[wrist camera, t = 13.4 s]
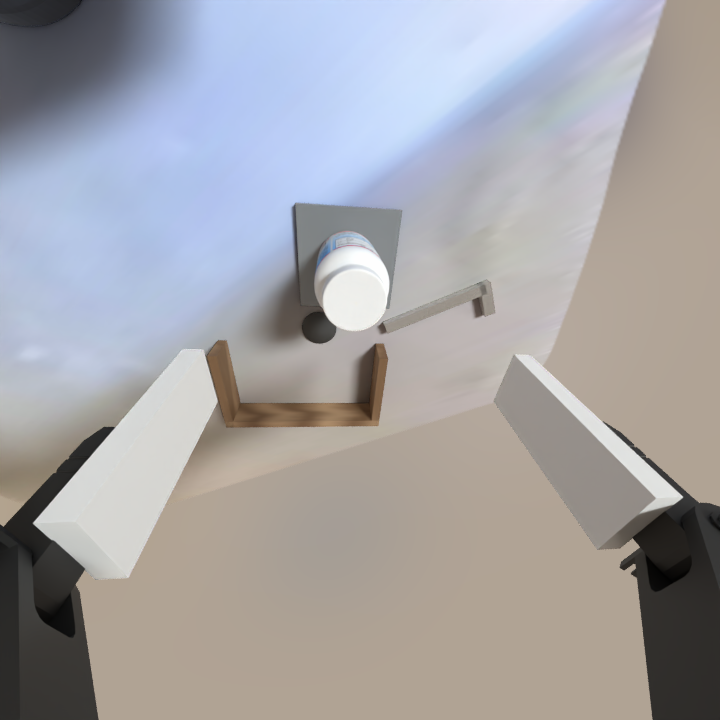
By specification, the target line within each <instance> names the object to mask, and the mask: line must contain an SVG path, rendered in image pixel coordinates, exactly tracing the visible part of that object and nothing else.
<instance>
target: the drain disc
mask: <svg viewBox="0 0 720 720" xmlns="http://www.w3.org/2000/svg"><path fill="white" fill-rule="evenodd" d="M302 330H303V333H304V335H305V337H306V338H307V339H309V340H310V341H312V342H315V343H325V342H328V341H330V340H331V339H332V338H333V337H334V335H335V333H336V326H335V325H334V324H332V323H331V322H330V321H329V319H328V318H327V316H326V315H325V313H320V312H317V313H312V314H310V315H309V316H307V317H306V318H305V320H304V322H303V325H302Z"/></svg>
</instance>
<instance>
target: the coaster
mask: <svg viewBox="0 0 720 720" xmlns="http://www.w3.org/2000/svg"><path fill="white" fill-rule="evenodd" d="M295 206H296V225H297V245H298V264H299V283H300V302H301V306H320V304H319V302H318V300H317V298H316V295H315V289H314V279H315V272H316V266H317V260H318V254H319V251H320V249H321V247H322V245H323V243H324V242H325V241H326V240H327V239H328V238H329V237H330V236H332V235H333V234H335V233H338V232H342V231H353V232H356V233H359V234H361V235H363V236H364V237H365V238H366V239H367V240H368V241H369V242H370V243H371V244H372V246H373V247H374V249H375V250H376V252H377V254H378V255H379V257H380V259H381V260H382V262H383V263H384V265H385V267H386V269H387V272H388V276H389V293H388V297H387V305H386V309H389V307H390V299H391V292H392V284H393V276H394V269H395V261H396V254H397V246H398V239H399V231H400V223H401V216H402V210H396V209H382V208H367V207H353V206H338V205H324V204H309V203H295Z"/></svg>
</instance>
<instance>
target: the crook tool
mask: <svg viewBox="0 0 720 720" xmlns="http://www.w3.org/2000/svg"><path fill="white" fill-rule="evenodd" d="M478 297H479V301H480V307H481V312H482V314H483V315H484V316H485V317H486V316H488V315H491V314H494V313H495V307H494V300H493V293H492V287H491V282H490V281H488V280H484V281H482V282H479V283H477V284H474V285H472V286H469V287H467V288H465V289H462V290H460V291H457V292H455V293H452V294H450V295H447V296H445V297H442V298H440V299H438V300H435V301H433V302H430V303H428V304H425V305H423V306H420V307H418V308H415V309H413V310H410V311H408V312H406V313H403V314H401V315H398V316H396V317H393V318H391V319H388V320H386V321H383V323H384V326H385V328H386V331H387V333H390V332H393V331H395V330H398V329H400V328H403V327H405V326H408V325H410V324H413V323H415V322H418V321H420V320H423V319H425V318H428V317H430V316H433V315H435V314H438V313H440V312H443V311H445V310H448V309H450V308H453V307H455V306H458V305H460V304H463V303H466V302H468V301H471V300H473V299H476V298H478Z"/></svg>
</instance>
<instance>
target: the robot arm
mask: <svg viewBox="0 0 720 720" xmlns="http://www.w3.org/2000/svg"><path fill="white" fill-rule="evenodd" d="M80 2H81V0H0V22H2V23H6V24H10V25H16V26H41V25H46V24H50V23H53V22H55V21H58V20H60V19H62V18H63V17H65V16H66V15H68V14H69V13H70V12H72V11H73V10H74V9H75V8H76V6H77V5H78V4H79V3H80ZM217 402H218V400H217V397H216V393H215V389H214V386H213V382H212V379H211V375H210V372H209V368H208V364H207V361H206V357H205V354H204V350H203V349H182V351H181V352H180V353H179V354H178V355H177V356H176V358H175V359H174V360H173V361H172V362H171V363H170V365H169V366H168V367H167V368H166V369H165V370H164V372H163V373H162V374H161V375H160V376H159V377H158V378H157V380H156V381H155V382H154V383H153V384H152V385H151V387H150V388H149V389H148V390H147V391H146V392H145V394H144V395H143V396H142V397H141V398H140V399H139V401H138V402H137V403H136V404H135V405H134V406H133V408H132V409H131V410H130V411H129V412H128V413H127V415H126V416H125V417H124V418H123V419H122V420H121V421H120V423H119V424H118V425H117V426H116V427H103V428H102V429H100V430H99V431H97V432H96V433H94V434H93V435H92V436H90V437H89V438H87V439H86V440H84V441H83V442H82V443H81V444H80V445H79V446H78V448H77V449H76V450H75V451H74V452H73V453H72V454H71V455H70V456H69V459H68V460H65V461H64V463H63V464H62V465H61V466H60V467H59V468H58V469H57V472H56V473H53V474H52V475H51V476H50V477H49V479H48V480H47V481H46V482H45V483H44V484H43V485H42V486H41V487H40V488H39V489H38V490H37V491H36V492H35V494H34V495H33V496H32V497H31V498H30V499H29V500H28V501H27V502H26V503H25V504H24V505H23V506H22V508H21V509H20V510H19V511H18V512H17V513H16V514H15V515H14V516H13V517H12V518H11V519H10V520H9V521H8V522H7V524H6V525H5V526H4V527H3V526H2V525H0V720H98V713H97V707H96V700H95V693H94V687H93V680H92V673H91V666H90V659H89V653H88V646H87V639H86V632H85V626H84V619H83V613H82V606H81V599H80V592H79V590H78V588H77V587H76V585H75V584H76V583H77V581H78V579H79V578H80V577H81V575H82V573H83V572H84V570H85V571H86V572H88V573H89V574H90V575H91V576H92V577H93V578H94V579H95V580H99V579H114V578H128V577H129V575H130V573H131V571H132V569H133V567H134V565H135V564H136V562H137V560H138V558H139V556H140V554H141V552H142V550H143V548H144V546H145V544H146V542H147V540H148V538H149V536H150V534H151V532H152V530H153V528H154V526H155V524H156V522H157V520H158V518H159V516H160V514H161V512H162V510H163V509H164V506H165V505H166V503H167V501H168V499H169V497H170V495H171V493H172V491H173V489H174V487H175V485H176V483H177V481H178V479H179V477H180V475H181V473H182V471H183V469H184V467H185V465H186V463H187V461H188V459H189V457H190V455H191V453H192V452H193V450H194V448H195V446H196V444H197V442H198V440H199V438H200V436H201V434H202V432H203V430H204V428H205V426H206V424H207V422H208V420H209V418H210V416H211V414H212V412H213V410H214V408H215V406H216V404H217ZM494 403H495V404H496V405H497V407H498V408H499V410H500V411H501V413H502V414H503V416H504V417H505V418H506V420H507V421H508V423H509V424H510V426H511V427H512V428H513V430H514V431H515V433H516V434H517V435H518V437H519V438H520V440H521V441H522V443H523V444H524V445H525V447H526V448H527V450H528V451H529V453H530V454H531V456H532V457H533V459H534V460H535V461H536V463H537V464H538V465H539V467H540V468H541V470H542V471H543V473H544V474H545V476H546V477H547V478H548V480H549V481H550V483H551V484H552V486H553V487H554V489H555V490H556V491H557V493H558V494H559V495H560V497H561V499H562V500H563V501H564V503H565V504H566V506H567V507H568V509H569V510H570V511H571V513H572V514H573V516H574V517H575V518H576V520H577V521H578V523H579V524H580V526H581V527H582V529H583V530H584V531H585V533H586V534H587V536H588V537H589V539H590V540H591V542H592V543H593V544H594V546H595V547H596V549H597V550H600V549H617V548H621V547H622V546H623V545H625V544H626V543H627V542H629V541H630V540H631V539H632V538H633V539H634V540H635V541H636V543H637V544H638V545H639V546H640V548H639V549H637V550H636V551H635V552H633V553H632V554H631V555H630V556H628V557H627V558H626V559H624V560H623V561H622V562H621V564H620V568H621V569H623V570H625V569H627V568H628V567H630V566H631V565H632V564H636V569H635V570H634V571H632V573H631V574H632V575H633V576H635V577H637V582H638V591H639V600H640V609H641V618H642V627H643V637H644V646H645V655H646V664H647V673H648V682H649V691H650V700H651V709H652V717H653V720H720V507H719V506H716V505H713V504H710V503H699V502H697V501H696V500H695V499H694V498H692V497H691V496H690V495H689V494H688V493H687V492H686V491H685V490H684V489H682V488H681V487H680V486H679V485H678V484H677V483H676V482H675V481H674V480H673V479H672V478H670V477H669V476H668V475H667V474H666V473H665V472H664V471H663V470H662V469H660V468H659V467H658V466H657V465H656V464H655V463H654V462H653V461H652V460H650V459H649V458H646V455H645V454H643V452H642V451H641V450H639V449H638V448H637V447H634V444H633V443H632V442H631V441H629V440H628V439H627V438H626V437H625V436H624V435H623V434H622V433H621V432H619V431H618V430H616V429H614V428H613V427H611V426H610V425H608V424H607V423H605V422H602V421H601V420H600V419H599V418H597V417H596V416H595V415H594V414H593V413H592V412H591V411H590V410H589V409H588V408H587V407H586V406H585V405H583V404H582V403H581V402H580V401H579V400H578V399H577V398H576V397H575V396H574V395H573V394H572V393H571V392H570V391H568V390H567V389H566V388H565V387H564V386H563V385H562V384H561V383H560V382H559V381H558V380H557V379H555V378H554V377H553V376H552V375H551V374H550V373H549V372H548V371H547V370H546V369H545V368H544V367H543V366H542V365H540V364H539V363H538V362H537V361H536V360H535V359H534V358H533V357H532V356H531V355H513V358H512V360H511V362H510V365H509V367H508V369H507V372H506V374H505V376H504V378H503V381H502V383H501V385H500V388H499V390H498V392H497V394H496V397H495V399H494Z"/></svg>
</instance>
